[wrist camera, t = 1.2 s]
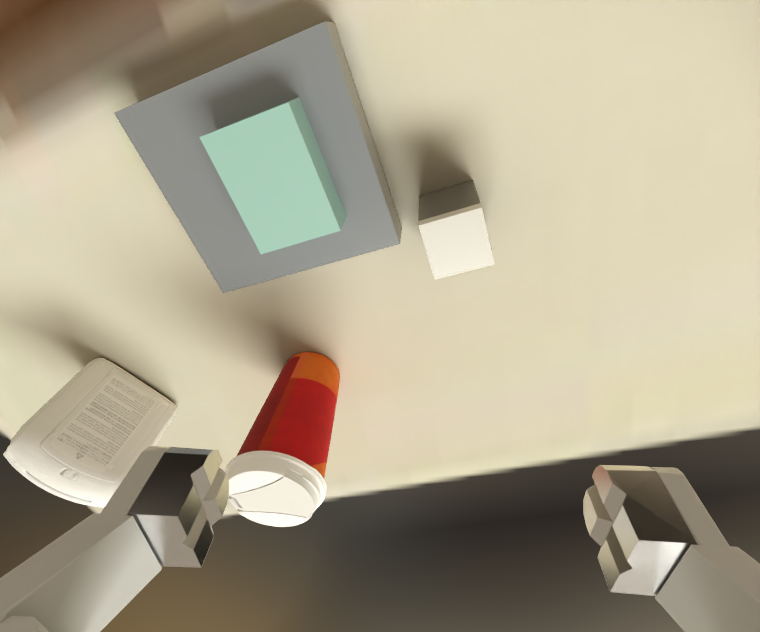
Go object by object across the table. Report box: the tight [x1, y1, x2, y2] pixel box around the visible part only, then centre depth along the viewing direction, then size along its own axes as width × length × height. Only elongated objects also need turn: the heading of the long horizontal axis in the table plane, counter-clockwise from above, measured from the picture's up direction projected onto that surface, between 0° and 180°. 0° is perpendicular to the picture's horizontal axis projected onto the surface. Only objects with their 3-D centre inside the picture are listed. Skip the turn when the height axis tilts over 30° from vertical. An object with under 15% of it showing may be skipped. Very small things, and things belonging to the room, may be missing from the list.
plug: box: [418, 180, 494, 279], centre depth 30 cm, size 4×4×6 cm
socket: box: [114, 21, 402, 293], centre depth 31 cm, size 15×14×3 cm
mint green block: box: [199, 97, 346, 254], centre depth 28 cm, size 6×8×2 cm
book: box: [3, 358, 177, 507], centre depth 41 cm, size 10×4×12 cm, turn 45°
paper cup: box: [225, 352, 340, 527], centre depth 37 cm, size 8×8×14 cm
